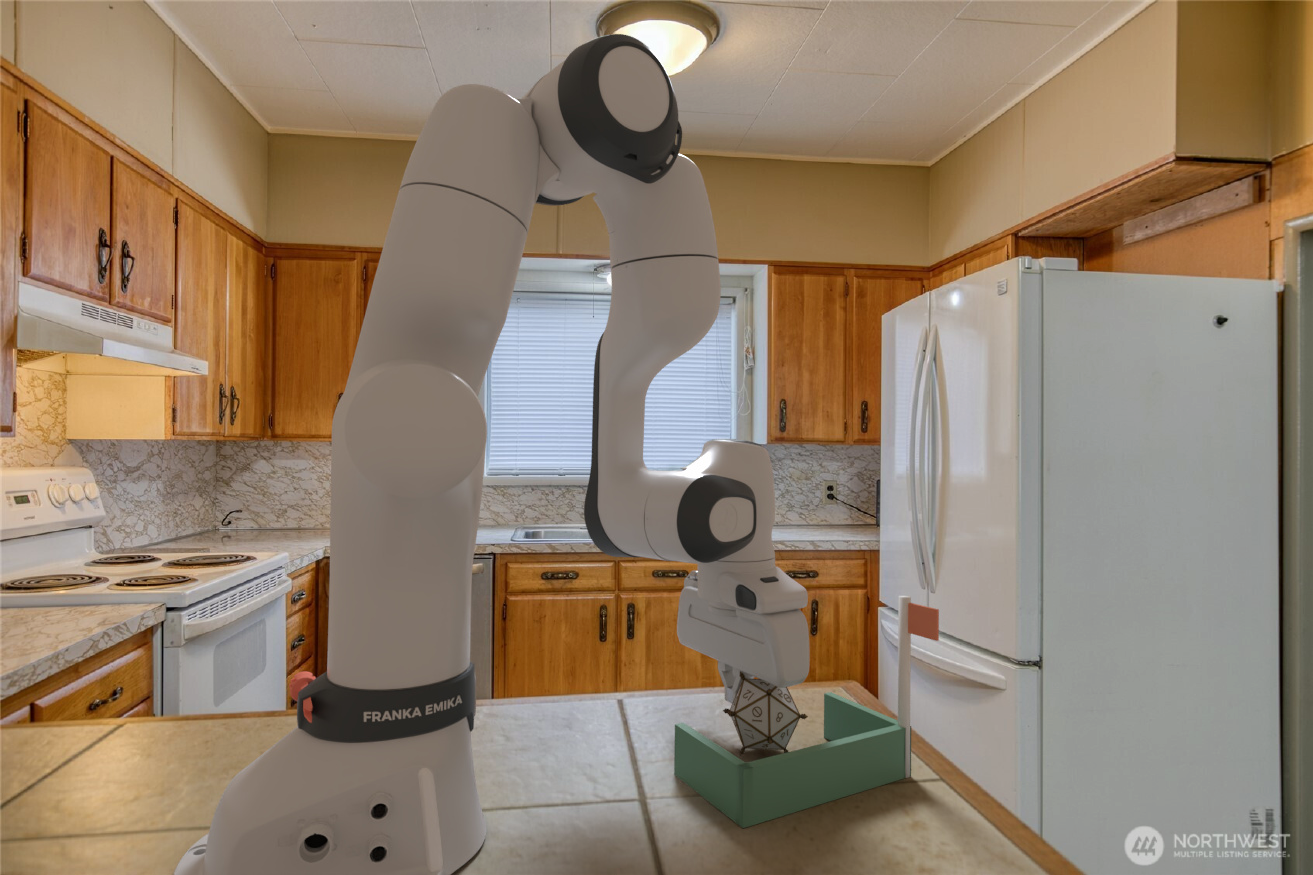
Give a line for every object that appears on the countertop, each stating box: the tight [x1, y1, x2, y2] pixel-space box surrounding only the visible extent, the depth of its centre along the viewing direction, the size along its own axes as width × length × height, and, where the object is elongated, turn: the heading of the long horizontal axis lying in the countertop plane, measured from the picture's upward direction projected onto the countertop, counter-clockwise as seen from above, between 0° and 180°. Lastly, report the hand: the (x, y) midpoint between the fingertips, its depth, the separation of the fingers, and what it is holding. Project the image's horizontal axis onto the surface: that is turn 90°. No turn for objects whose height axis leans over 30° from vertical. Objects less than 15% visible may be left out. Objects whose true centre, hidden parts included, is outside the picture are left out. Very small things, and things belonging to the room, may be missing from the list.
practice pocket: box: [673, 595, 940, 829], centre depth 69 cm, size 21×15×18 cm
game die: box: [722, 672, 809, 756], centre depth 76 cm, size 9×8×10 cm
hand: (736, 703), depth 80 cm, fingers closed
